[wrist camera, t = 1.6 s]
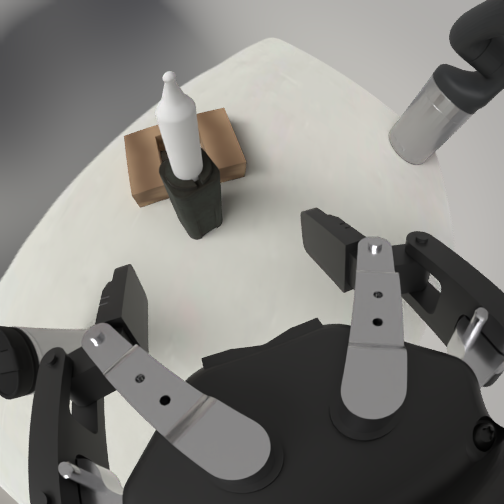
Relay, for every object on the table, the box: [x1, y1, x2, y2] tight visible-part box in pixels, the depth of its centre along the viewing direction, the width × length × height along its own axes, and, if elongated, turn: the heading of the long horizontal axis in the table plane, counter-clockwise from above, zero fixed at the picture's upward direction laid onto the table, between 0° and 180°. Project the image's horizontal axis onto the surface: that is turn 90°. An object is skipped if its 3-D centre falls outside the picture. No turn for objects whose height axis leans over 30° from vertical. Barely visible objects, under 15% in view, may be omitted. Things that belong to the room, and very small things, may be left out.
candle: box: [155, 71, 222, 239], centre depth 26 cm, size 5×5×25 cm
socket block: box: [124, 108, 246, 207], centre depth 38 cm, size 16×11×4 cm
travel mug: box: [0, 326, 88, 399], centre depth 22 cm, size 6×7×20 cm
